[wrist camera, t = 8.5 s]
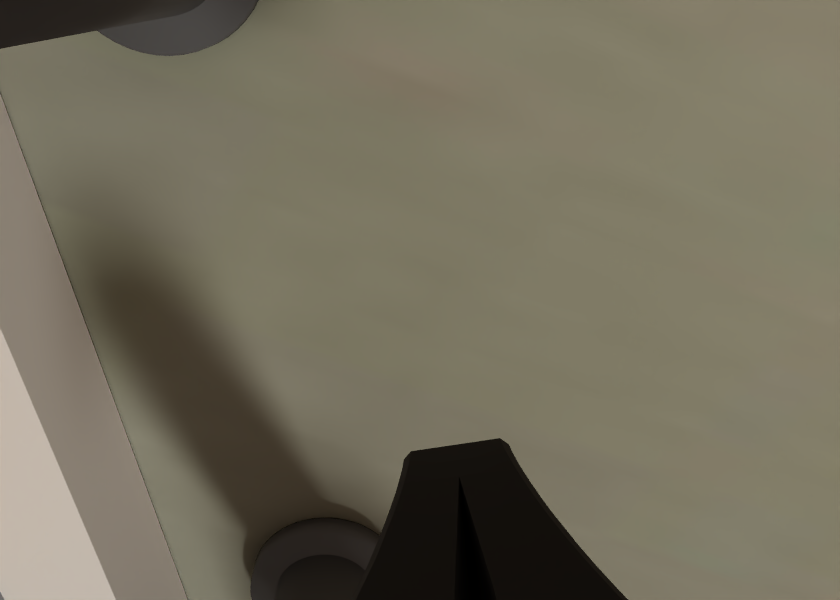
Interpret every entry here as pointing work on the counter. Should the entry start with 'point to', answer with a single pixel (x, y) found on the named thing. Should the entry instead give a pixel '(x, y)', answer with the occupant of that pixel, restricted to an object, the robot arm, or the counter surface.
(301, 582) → the cord posts
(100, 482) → the long narrow tray
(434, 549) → the robot arm
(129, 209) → the counter surface
